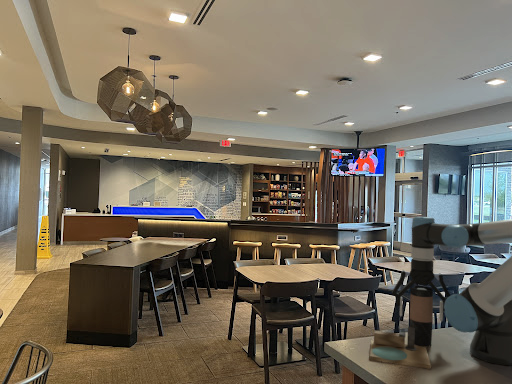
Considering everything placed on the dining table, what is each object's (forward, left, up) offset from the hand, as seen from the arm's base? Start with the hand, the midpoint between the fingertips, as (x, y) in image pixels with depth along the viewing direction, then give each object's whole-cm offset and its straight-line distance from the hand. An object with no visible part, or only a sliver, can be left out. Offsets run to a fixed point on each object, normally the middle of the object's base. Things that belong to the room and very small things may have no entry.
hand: (420, 317), depth 144 cm
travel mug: (0, 0, -9) cm, 9 cm away
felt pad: (+11, +18, -8) cm, 23 cm away
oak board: (+8, +15, -9) cm, 19 cm away
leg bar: (+11, +11, -7) cm, 17 cm away
